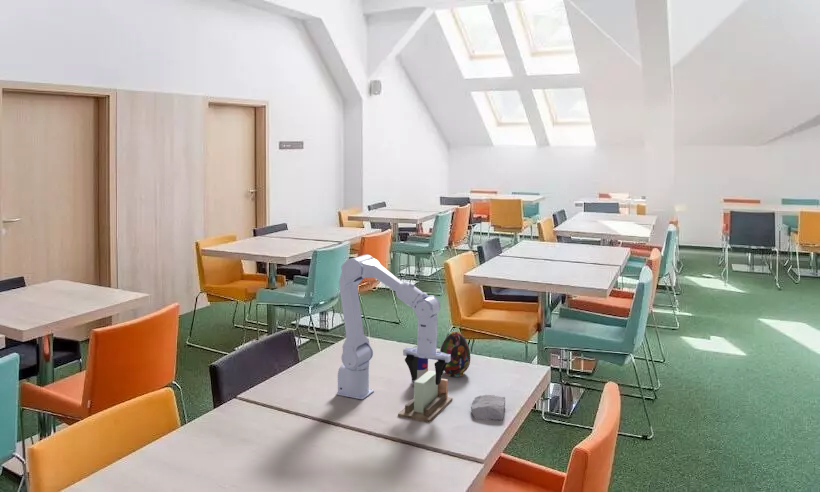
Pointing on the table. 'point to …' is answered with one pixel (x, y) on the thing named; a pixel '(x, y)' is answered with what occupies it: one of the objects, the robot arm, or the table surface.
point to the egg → (456, 354)
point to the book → (425, 391)
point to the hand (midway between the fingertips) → (426, 381)
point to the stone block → (488, 407)
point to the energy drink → (421, 367)
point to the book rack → (433, 408)
